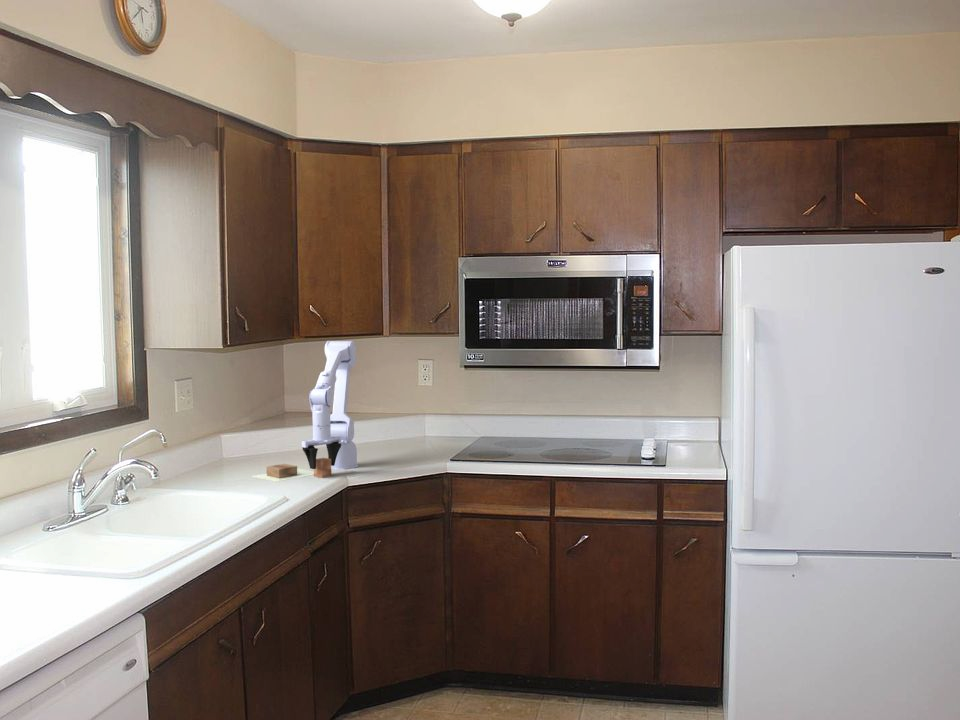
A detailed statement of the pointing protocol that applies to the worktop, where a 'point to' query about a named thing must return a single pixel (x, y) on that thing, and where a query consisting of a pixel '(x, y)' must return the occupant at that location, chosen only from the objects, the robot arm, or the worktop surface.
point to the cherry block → (323, 467)
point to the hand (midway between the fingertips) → (322, 467)
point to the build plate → (299, 474)
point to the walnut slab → (281, 471)
